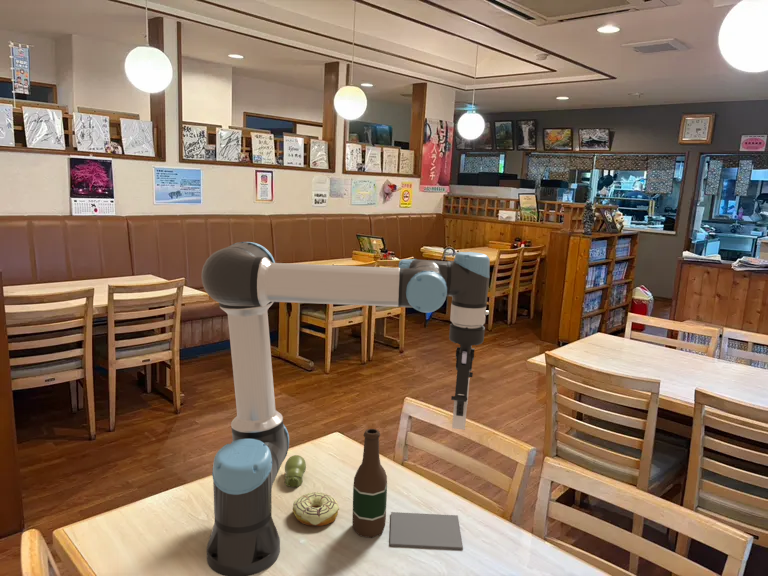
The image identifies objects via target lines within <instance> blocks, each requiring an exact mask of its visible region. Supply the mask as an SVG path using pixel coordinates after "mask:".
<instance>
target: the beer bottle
mask: <svg viewBox="0 0 768 576" xmlns="http://www.w3.org/2000/svg"><path fill="white" fill-rule="evenodd" d="M380 436H381V432H380V431H379V430H378V429H376V428H368V429H365V431H364V432H363V438H364V443H363V454H362V460H361V463H360V465H359V466H358V468H357V471H356V473H355V476H354V477H353V485H352V490H353V492H352V522H351V523H352V530H353V531H355V533H356V534H357V535H358V536H359V537H364V538H369V539H370V538H375V537H377V536H380V535H382V534H383V532H384V530H385V526H386V521H387V496H388V495H387V494H388V476H387V474H386V473H387V472H386V470H385V469H384V467H383V465H382V463H381V459H380V458H381V457H380Z"/></svg>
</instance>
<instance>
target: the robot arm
mask: <svg viewBox="0 0 768 576" xmlns="http://www.w3.org/2000/svg"><path fill="white" fill-rule="evenodd" d="M490 262H491V261H490V258H489V256H488V255H487V254H485V253H481V252H475V251H459V252H457V253H455V255H454V258H453V260H450V261H449V260H446V261H444V260H443V261H442V260H432V259H431V260H429V259H428V260H427V259H417V258H413V259H410V258H409V259H405V258H404V259H401V260H399V263H398V267H384V266H382V267H381V266H361V265H360V266H358V265H356V266H355V265H338V264H336V265H335V264H311V263H287V262H286V263H284V262H276V261H275V258H274V257H273V254H272V253H271V252H270V251H269V250H268V249H267V248H266V247H265V246H263V245H261V244H259V243H256V242H254V241H253V242H251V241H242V242H241V241H240V242H236V243H233V244H231V245H229V246H227V247H224V248H221V249H219V250H216V251H214V252H213V253H212V254H211V255H210V256H209V257H207V259H206V260H205V262H204V264H203V266H202V270H201V284H202V286H203V288H204V291H205V292H206V294H207V295H208V296H209V297H210V298H211V299H212V300H213V301H215V302H217V303H219V304H218V305H219V309H220V310H222V311H223V312H225V313H226V314H227V322H228V333H229V343H230V354H231V364H232V375H233V384H234V385H233V386H234V395H235V405H236V416H235V417H234V418H233V420H232V421H231V423H230V426H231V435H232V436H231V437H232V441H231V443H227V444H225V445H223V446H222V447H221V448H220V449H219V450H217V452H216V454H215V456H214V457H213V458H214V459H213V465H212V475H211V476H212V480H213V481H212V482H213V485H212V486H213V508H214V510H213V511H214V513H213V514H214V524H213V527H212V528H211V529H212V530H211V534H210V536H209V538H208V542H207V546H206V562H207V565H208V567H209V568H210V569H211V570H212V571H213V572H215V573H216V574H217V575H221V576H253V575H256V574H259V573H261V572H263V571H265V570H267V569H269V568H271V566H272V565H273V564H274V563H275V562H276V561H277V559H278V558H279V556H280V553H281V539H280V535H279V532H278V529H277V528H276V524H275V522H274V519H273V516H272V515H273V514H272V505H273V504H272V503H273V502H272V492H273V491H272V489H273V485H274V482H275V480H276V478H277V476H278V473H279V471H280V468H281V467H282V465H283V462H284V461H285V459H286V457H287V454H288V451H289V449H290V434H289V431H288V429H287V427H286V426H285V424H284V417H283V414H282V413H280V412H279V411H278V410H277V409H276V400H275V391H274V390H275V389H274V377H273V375H274V374H273V365H272V364H273V363H272V353H271V352H272V350H271V338H270V326H269V325H270V324H269V316H268V315H269V313H268V310H269V308H270V307H271V306H272V305H273V304H274V303H301V304H318V305H319V304H323V305H325V304H326V305H344V306H345V305H350V306H369V307H370V306H373V307H374V306H375V307H376V306H377V307H396V308H397V307H399V308H413V309H414V310H416V311H418V312H421V313H426V314H427V313H433V312H435V311H437V310H439V309H440V308H441V307H442V306H443V305H444V303H445V301H446V299H447V297H451V298H452V299H451V303H450V304H451V305H450V317H449V319H450V320H449V321H450V322H451V323H450V324H449V334H448V335H449V336H448V339H449V341H450V342H452V343H454V344H458V345H459V346H460V347H459V346H457V347H456V351H455V360H456V361H455V370H456V382H455V393H454V395H452V396H451V397H450V398H451V399H450V400H451V401H453V412H452V426H451V428H452V429H455V430H466V421H467V408H468V402H469V391H470V378H473V377H474V374H473V373H474V372H472V370H473V361H474V360H475V348H472V346H478V345H481V344H483V343H484V340H485V333H486V332H485V331H486V327H485V326H484V325H485V324H486V316H487V315H489V313H490V312H489V310H486V309H487V303H488V294H489V285H490V277H491V276H490V265H491V264H490Z"/></svg>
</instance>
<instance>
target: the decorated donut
mask: <svg viewBox="0 0 768 576" xmlns="http://www.w3.org/2000/svg"><path fill="white" fill-rule="evenodd" d="M292 504H293V506H292V512H293V514H294V516H295V519H297V520H298V522H299V523H302V524H304V525H306V526H314V527H315V526H317V527H321V526H327V525H328V524H332V523H333V522H334V521H335V520H336V518H337V517H338V513H339V510H340V506H339V503H338V502H337V500H336V499H335V498H334V497H333V496H331V495H330V494H328V493H323V492H318V491H317V492H308V493H304V494H302V495H301V496H299V497H298V498H296V499H295V500H294V501H293V503H292Z"/></svg>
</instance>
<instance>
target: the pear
mask: <svg viewBox="0 0 768 576" xmlns="http://www.w3.org/2000/svg"><path fill="white" fill-rule="evenodd" d="M306 469H307V463H306V460H305V458H303V457H302V456H301V455H297V454H294V455H291V456H289V458H287V460H286V462H285V465H284V472H285V479H284V480H285V481H284V483H285V485H286V487H291V488H299V487H300V486H301V485H302V484H303V477H304V474H305V472H306Z"/></svg>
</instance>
